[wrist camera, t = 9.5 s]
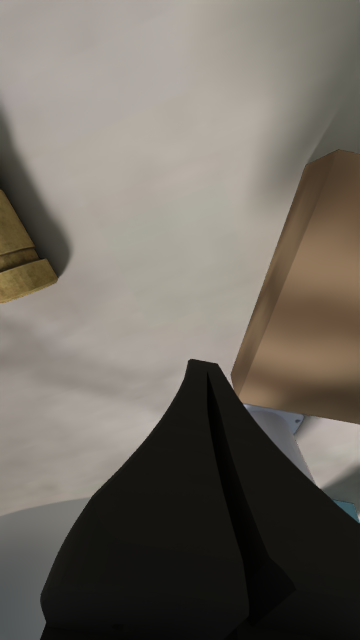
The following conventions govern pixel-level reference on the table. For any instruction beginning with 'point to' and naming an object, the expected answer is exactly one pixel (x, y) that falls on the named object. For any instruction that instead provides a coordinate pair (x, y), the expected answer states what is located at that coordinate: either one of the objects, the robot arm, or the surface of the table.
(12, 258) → the gavel
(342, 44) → the table surface
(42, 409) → the table surface
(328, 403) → the board
